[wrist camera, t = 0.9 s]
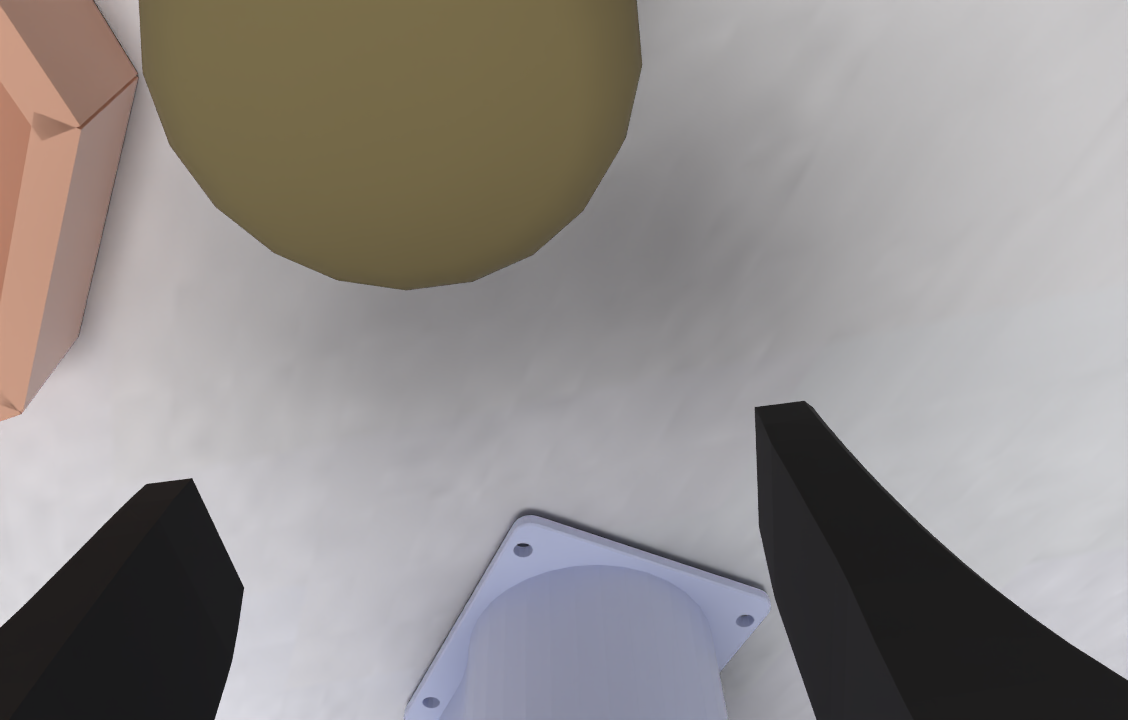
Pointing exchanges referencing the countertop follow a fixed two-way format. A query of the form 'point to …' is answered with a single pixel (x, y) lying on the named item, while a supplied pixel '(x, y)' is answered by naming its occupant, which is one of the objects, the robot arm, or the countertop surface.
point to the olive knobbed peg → (395, 123)
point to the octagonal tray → (53, 178)
